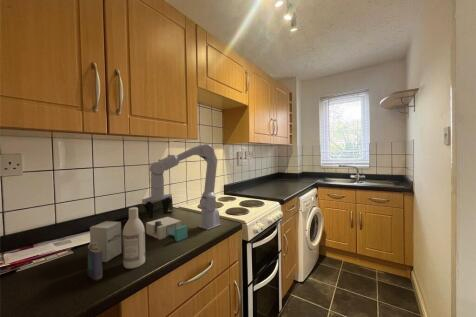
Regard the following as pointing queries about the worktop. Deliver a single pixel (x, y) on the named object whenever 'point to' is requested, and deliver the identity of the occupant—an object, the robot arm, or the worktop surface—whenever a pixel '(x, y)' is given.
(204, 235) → the worktop surface
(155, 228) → the plunger
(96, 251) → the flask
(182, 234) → the cartridge
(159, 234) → the housing
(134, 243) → the bath foam
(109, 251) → the supplement box
